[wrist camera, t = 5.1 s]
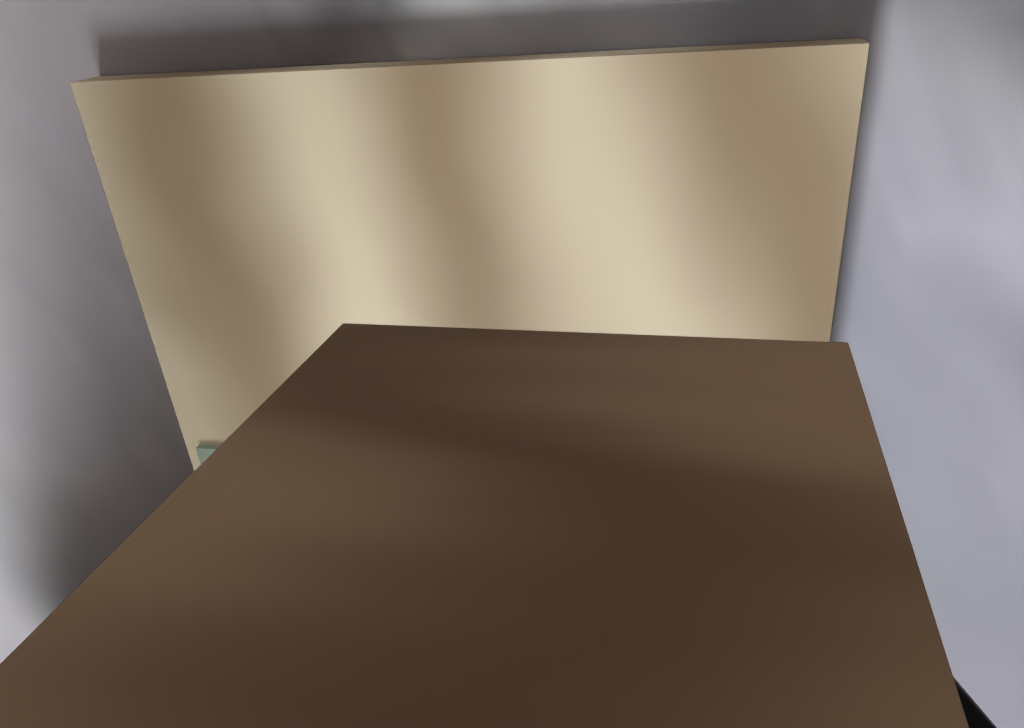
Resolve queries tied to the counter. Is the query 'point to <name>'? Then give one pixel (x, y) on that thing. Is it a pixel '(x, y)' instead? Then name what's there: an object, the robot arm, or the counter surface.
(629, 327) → the birch board
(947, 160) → the counter surface
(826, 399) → the walnut block
